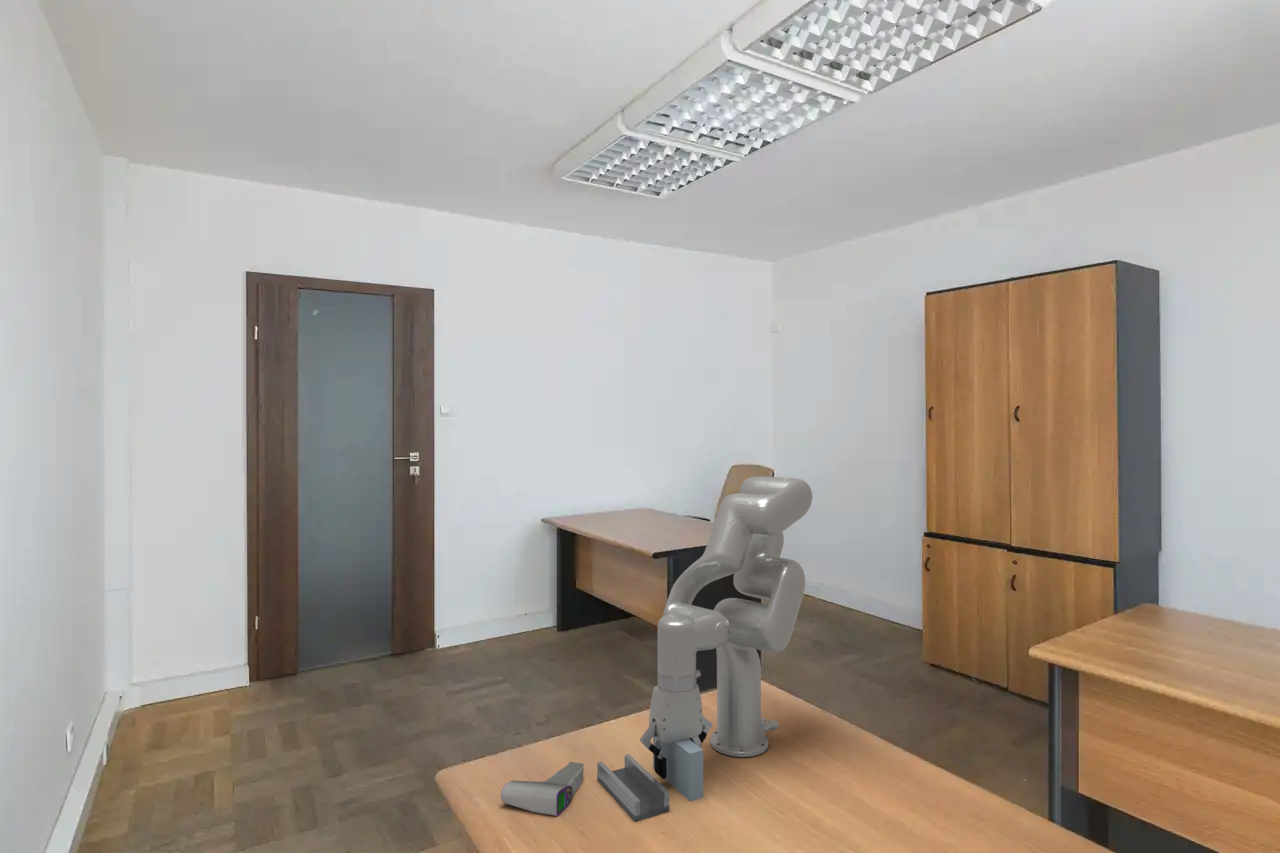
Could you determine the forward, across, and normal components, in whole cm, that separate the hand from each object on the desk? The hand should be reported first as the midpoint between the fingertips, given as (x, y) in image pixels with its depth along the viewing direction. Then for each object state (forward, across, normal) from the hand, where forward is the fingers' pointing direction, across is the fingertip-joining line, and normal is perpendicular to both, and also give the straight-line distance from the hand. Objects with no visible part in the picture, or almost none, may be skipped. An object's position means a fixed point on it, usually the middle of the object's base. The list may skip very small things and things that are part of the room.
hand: (677, 770), depth 134 cm
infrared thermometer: (+3, +24, -9) cm, 26 cm away
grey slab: (+2, 0, 0) cm, 2 cm away
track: (+2, +10, 0) cm, 10 cm away
